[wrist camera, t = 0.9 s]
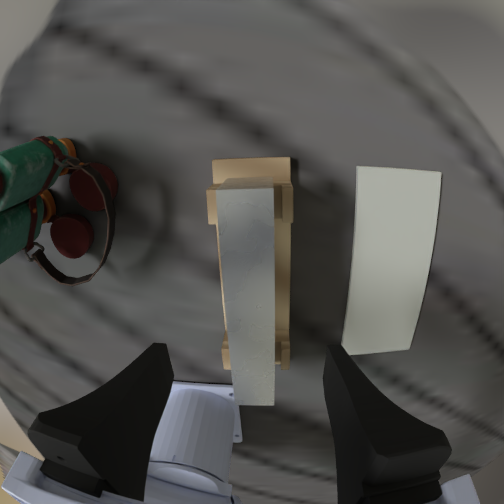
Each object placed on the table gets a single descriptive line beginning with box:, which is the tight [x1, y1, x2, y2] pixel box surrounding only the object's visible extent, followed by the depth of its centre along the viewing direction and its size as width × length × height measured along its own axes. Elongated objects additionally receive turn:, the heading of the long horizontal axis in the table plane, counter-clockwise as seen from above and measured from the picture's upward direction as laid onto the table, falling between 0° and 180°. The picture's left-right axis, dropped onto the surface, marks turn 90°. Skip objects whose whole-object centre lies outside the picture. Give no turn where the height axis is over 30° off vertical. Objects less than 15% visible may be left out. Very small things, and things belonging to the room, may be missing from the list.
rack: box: [206, 157, 293, 370], centre depth 20 cm, size 16×5×3 cm, turn 2°
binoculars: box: [0, 136, 118, 286], centre depth 16 cm, size 9×11×10 cm
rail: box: [216, 177, 275, 405], centre depth 18 cm, size 14×3×4 cm, turn 2°
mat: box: [341, 166, 441, 355], centre depth 21 cm, size 15×6×1 cm, turn 2°
